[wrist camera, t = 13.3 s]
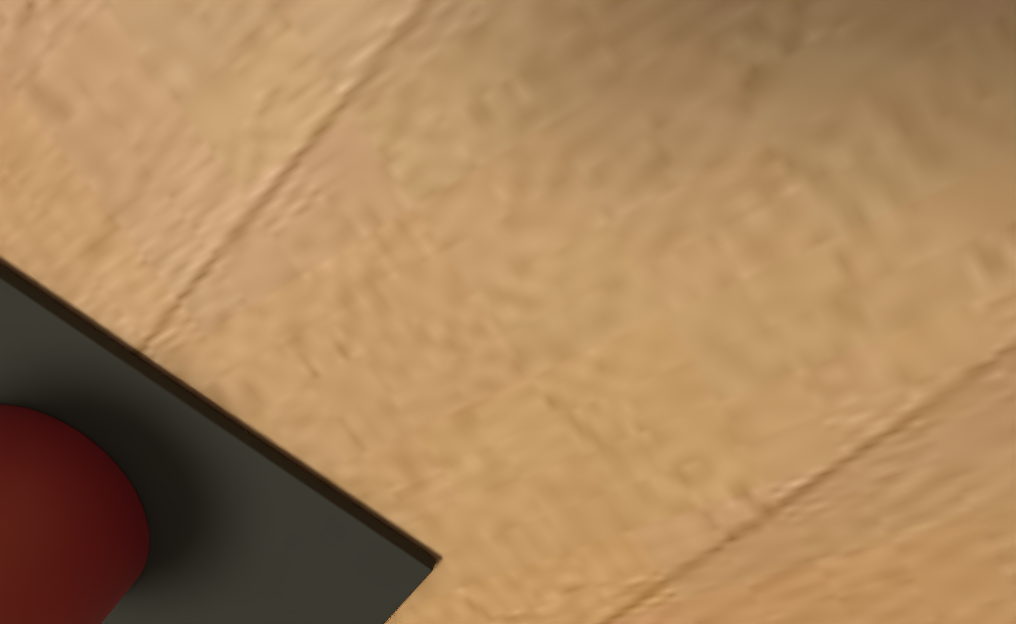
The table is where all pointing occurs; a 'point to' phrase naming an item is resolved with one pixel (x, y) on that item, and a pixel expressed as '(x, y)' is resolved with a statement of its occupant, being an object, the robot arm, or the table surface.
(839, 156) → the table surface
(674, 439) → the table surface
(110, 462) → the tub
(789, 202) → the table surface
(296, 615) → the mat
